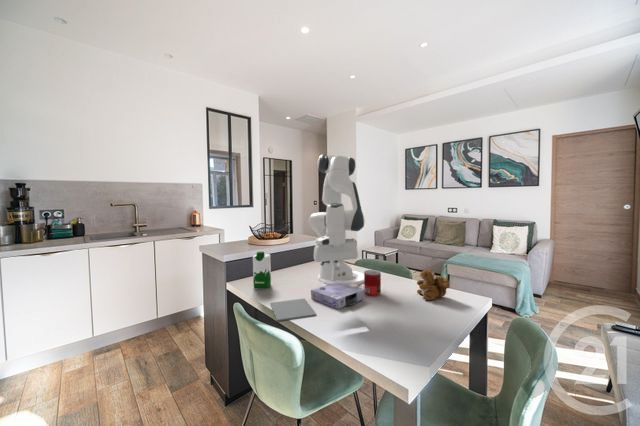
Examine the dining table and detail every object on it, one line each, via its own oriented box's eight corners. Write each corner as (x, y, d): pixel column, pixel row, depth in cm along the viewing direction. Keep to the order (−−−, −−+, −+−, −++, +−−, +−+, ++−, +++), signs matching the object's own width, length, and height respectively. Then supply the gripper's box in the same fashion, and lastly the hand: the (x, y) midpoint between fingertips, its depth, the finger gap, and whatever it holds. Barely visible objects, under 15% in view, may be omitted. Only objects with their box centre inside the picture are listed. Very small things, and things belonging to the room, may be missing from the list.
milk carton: (251, 291, 140) (250, 253, 139) (257, 285, 149) (256, 250, 148) (268, 291, 139) (267, 253, 138) (272, 286, 148) (272, 250, 147)
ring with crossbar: (330, 275, 177) (330, 268, 177) (371, 280, 164) (371, 272, 164) (309, 287, 152) (309, 279, 152) (356, 294, 139) (356, 285, 139)
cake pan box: (339, 311, 113) (365, 299, 124) (339, 299, 112) (365, 288, 124) (310, 300, 127) (336, 290, 139) (309, 289, 126) (335, 280, 138)
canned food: (380, 296, 128) (380, 274, 128) (364, 295, 130) (363, 273, 129) (380, 291, 136) (380, 270, 135) (364, 290, 137) (364, 269, 137)
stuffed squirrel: (415, 292, 134) (415, 266, 133) (445, 293, 131) (445, 267, 131) (419, 299, 124) (419, 271, 123) (451, 301, 121) (451, 272, 121)
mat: (304, 299, 126) (304, 298, 126) (316, 315, 108) (316, 314, 108) (270, 304, 121) (270, 302, 121) (276, 321, 103) (276, 319, 103)
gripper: (353, 237, 126) (354, 266, 126) (312, 239, 119) (312, 270, 120) (359, 239, 120) (360, 269, 120) (316, 241, 113) (316, 273, 114)
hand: (336, 270), depth 120 cm, fingers closed
